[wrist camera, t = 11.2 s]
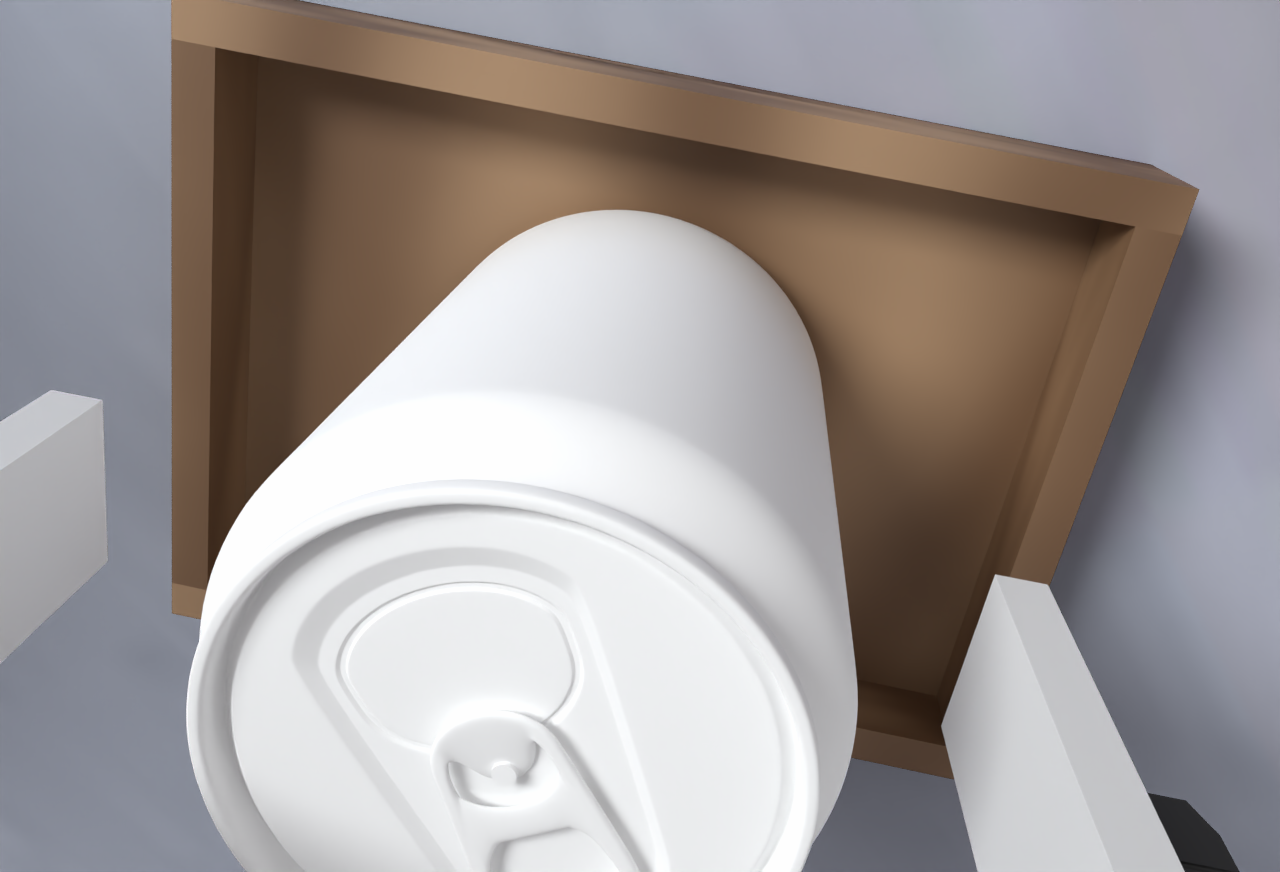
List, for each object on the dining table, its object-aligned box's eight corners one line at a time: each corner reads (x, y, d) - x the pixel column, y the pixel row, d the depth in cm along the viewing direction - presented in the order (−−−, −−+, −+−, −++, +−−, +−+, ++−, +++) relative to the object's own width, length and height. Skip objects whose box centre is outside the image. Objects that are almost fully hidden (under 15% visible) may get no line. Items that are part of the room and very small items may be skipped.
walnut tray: (225, 556, 27) (171, 613, 24) (237, -12, 22) (170, -10, 19) (956, 710, 26) (974, 783, 24) (1150, 164, 21) (1199, 189, 19)
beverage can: (746, 142, 21) (719, 334, 10) (869, 506, 24) (955, 977, 13) (374, 280, 23) (3, 570, 12) (527, 603, 25) (341, 1085, 14)
